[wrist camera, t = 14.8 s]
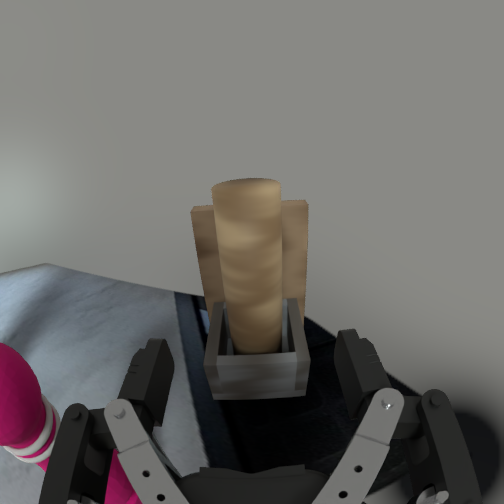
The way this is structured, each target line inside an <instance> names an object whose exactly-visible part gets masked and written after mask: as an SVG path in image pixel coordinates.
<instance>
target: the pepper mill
mask: <svg viewBox="0 0 504 504" xmlns="http://www.w3.org/2000/svg"><path fill="white" fill-rule="evenodd" d="M60 424H61V421H60V417H59V414H58V412H57V410H56V409H55V407H54V406H53V405H52V404H51V403H49V401H48V400H47V399H46V397H45V396H44V395H43V394H41V389H40V386H39V383H38V380H37V377H36V376H35V374H34V372H33V370H32V369H31V367H30V366H29V364H28V363H27V362H26V361H25V360H24V359H23V358H22V356H21V355H20V354H19V353H18V352H16V351H15V350H14V349H12V348H11V347H9V346H7V345H5V344H3V343H0V445H1V446H3V447H4V448H5V449H6V450H7V451H9V452H10V453H12V454H13V455H14V456H15V457H16V458H18V459H19V460H21V461H23V462H27V463H36V464H37V465H39V466H40V467H41V468H42V469H43V470H44V471H45V472H46V469H47V466H48V462H49V458H50V455H51V451H52V448H53V445H54V442H55V439H56V436H57V432H58V430H59V427H60ZM118 453H119V452H118V451H117V450H116V449H114V451H113V456H112V461H111V467H110V472H109V478H108V484H107V490H106V496H105V504H142V502H141V500H140V499H139V497H138V495H137V493H136V492H135V490H134V488H133V486H132V484H131V483H130V481H129V479H128V477H127V475H126V473H125V471H124V469H123V467H122V465H121V463H120V461H119V458H118V455H117V454H118Z"/></svg>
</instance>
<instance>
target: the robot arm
mask: <svg viewBox="0 0 504 504" xmlns="http://www.w3.org/2000/svg"><path fill="white" fill-rule="evenodd" d="M334 363H335V367H336V370H337V374H338V377H339V381H340V384H341V388H342V391H343V395H344V398H345V402H346V406H347V409H348V413H349V417H350V420H353V419H358V422H359V426H358V428H357V429H356V431H355V433H354V435H353V437H352V439H351V441H350V442H349V444H348V446H347V448H346V449H345V451H344V453H343V455H342V456H341V458H340V460H339V461H338V463H337V464H336V466H335V467H334V469H333V471H332V472H331V474H330V475H329V476H327V475H325V474H323V473H321V472H318V471H314V470H308V469H305V465H304V464H303V465H295V466H284V467H277V468H273V469H270V470H266V471H262V472H259V473H255V474H248V473H243V472H239V471H234V470H230V469H226V468H207V467H200V471H199V472H197V473H193V474H189V475H187V476H184V477H182V476H181V475H180V473H179V472H178V471H177V469H176V468H175V467H174V466H173V464H172V463H171V462H170V460H169V459H168V457H167V456H166V454H165V452H164V451H163V449H162V448H161V446H160V444H159V443H158V441H157V439H156V438H155V436H154V434H153V433H152V432H153V427H154V426H159V427H162V423H163V418H164V413H165V409H166V404H167V400H168V395H169V391H170V387H171V382H172V378H173V374H174V360H173V357H172V355H171V352H170V349H169V347H168V344H167V341H166V340H165V339H149V340H148V342H147V345H146V348H145V349H139V350H138V352H137V353H136V354H135V355H134V356H133V358H132V361H131V363H130V366H129V369H128V373H127V374H126V376H125V379H124V382H123V385H122V387H121V390H120V393H119V396H118V398H117V399H115V400H113V401H111V402H110V403H108V404H107V406H106V407H105V408H101V409H92V410H88V409H87V408H86V407H85V406H84V405H83V404H80V403H75V404H72V405H70V406H69V407H68V408H67V409H66V410H65V413H64V415H63V418H62V421H61V424H60V427H59V430H58V432H57V436H56V439H55V442H54V445H53V448H52V451H51V455H50V458H49V462H48V466H47V469H46V473H45V477H44V481H43V485H42V490H41V494H40V499H39V504H105V496H106V490H107V484H108V478H109V472H110V467H111V461H112V456H113V451H114V448H118V450H119V453H118V454H117V455H118V458H119V461H120V463H121V465H122V467H123V469H124V471H125V473H126V475H127V477H128V479H129V481H130V483H131V484H132V486H133V488H134V490H135V492H136V493H137V495H138V497H139V499H140V500H141V502H142V504H366V503H365V502H363V500H364V498H365V496H366V494H367V493H368V491H369V489H370V487H371V485H372V484H373V482H374V480H375V478H376V476H377V474H378V472H379V470H380V468H381V466H382V464H383V462H384V460H385V457H386V455H387V453H388V450H389V447H390V445H389V442H390V440H391V438H401V441H402V445H403V449H404V453H405V457H406V461H407V465H408V470H409V474H410V479H411V484H412V489H413V494H414V497H412V498H411V499H410V500H409V502H408V503H407V504H482V499H481V494H480V490H479V486H478V482H477V478H476V475H475V471H474V468H473V464H472V461H471V458H470V455H469V452H468V449H467V446H466V443H465V440H464V437H463V435H462V432H461V429H460V427H459V424H458V421H457V419H456V416H455V414H454V411H453V409H452V407H451V404H450V402H449V399H448V397H447V396H446V394H445V393H444V392H442V391H440V390H437V389H432V390H429V391H427V392H426V393H424V395H423V396H422V397H413V396H403V395H402V394H401V393H400V392H399V391H397V390H395V389H393V388H392V386H391V384H390V382H389V380H388V377H387V375H386V373H385V370H384V368H383V366H382V363H381V362H380V359H379V357H378V355H377V352H376V350H375V348H374V346H373V344H372V343H371V342H370V341H368V340H367V339H366V338H362V339H359V336H358V334H357V332H356V330H355V329H347V330H340V331H339V332H338V335H337V340H336V345H335V350H334Z"/></svg>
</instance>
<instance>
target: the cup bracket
mask: <svg viewBox="0 0 504 504" xmlns="http://www.w3.org/2000/svg"><path fill="white" fill-rule="evenodd" d="M191 218H192V224H193V231H194V237H195V244H196V251H197V257H198V262H199V268H200V274H201V280H202V285H203V290H204V296H205V301H206V306H207V311H208V316H209V321H210V327H209V333H208V339H207V345H206V351H205V357H204V363H203V366H204V370H205V373H206V376H207V380H208V383H209V386H210V389H211V392H212V396H213V399H214V400H243V399H269V398H283V397H295V396H305V394H306V388H307V381H308V374H309V367H310V356H309V351H308V347H307V342H306V337H305V333H304V328H303V323H304V308H305V292H306V271H307V245H308V204H307V202H306V201H305V200H287V201H281V221H282V353H276V354H258V355H234V353H233V347H232V341H231V334H230V328H229V321H228V315H227V308H226V301H225V294H224V287H223V280H222V272H221V265H220V257H219V250H218V242H217V233H216V225H215V217H214V208H213V205H206V206H195V207H193V209H192V210H191Z"/></svg>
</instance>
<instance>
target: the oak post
mask: <svg viewBox="0 0 504 504" xmlns="http://www.w3.org/2000/svg"><path fill="white" fill-rule="evenodd" d="M280 188H281V187H280V182H278V181H276V180H271V179H263V178H247V179H237V180H230V181H226V182H222V183H219V184H216V185H214V186H213V187H212V189H211V190H212V199H213V208H214V217H215V225H216V233H217V242H218V250H219V257H220V265H221V272H222V280H223V287H224V294H225V301H226V308H227V315H228V321H229V328H230V334H231V341H232V347H233V353H234V355H258V354H276V353H282V221H281V189H280Z"/></svg>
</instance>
